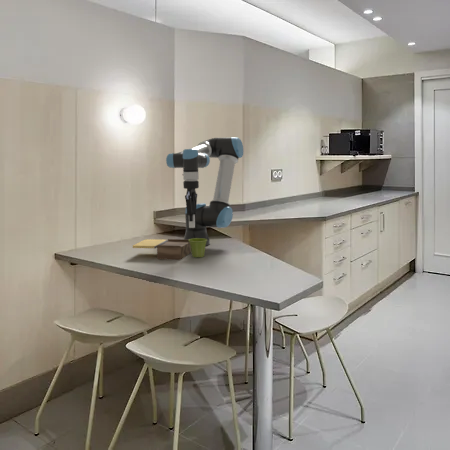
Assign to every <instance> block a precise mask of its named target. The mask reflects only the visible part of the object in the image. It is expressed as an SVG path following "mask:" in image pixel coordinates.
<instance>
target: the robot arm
mask: <svg viewBox="0 0 450 450" xmlns="http://www.w3.org/2000/svg"><path fill="white" fill-rule="evenodd" d="M243 156H244V145H243V142H242V140H241V138H240V137H237V136H236V137H234V136H232V137H231V136H230V137H214V138H212V137H211V138H210V139H207V140H204V141H201V142H199V143H198V144H197V145H195V146H193V147H190V148H184V149H183V151H180V152H177V153H176V152H172V153H168V154H167V156H166V158H165V162H166V166H167V167H169V168H172V169H177V168H178V169H181V168H182V176H183V182H182V183H183V189H185V190H186V195H184V199H185V205H186V206H185V213H184V215H185V234H184V237H183V239H194V238H203V239H207V241H206V245H205V247H207V246H209V245H210V243H211V241H210V238H209V234H208V232H207V228H218V229H221V228H222V229H223V228H228V227H229V226H230V224H231V222H232V220H233V215H234V214H233V213H234V211H233V208H232V206H231V204H230V203H229V199H230V194H231V189H232V182H233V176H234V171H235V166H236V164H238V163H239V159H240V158H242V157H243ZM211 158H213V159H218V161H219V167H218V171H217V176H216V183H215V187H214V193H213V199H212V200H211V201H209V205H207V203H205V202H204V203H197V202H198V193H197V192H196V191H197V189H199V186H200V185H199V184H200V183H199V175H200V174H199V169H204V168H207V167H208V166H209V165H210V162H211Z"/></svg>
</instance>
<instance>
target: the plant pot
mask: <svg viewBox="0 0 450 450" xmlns="http://www.w3.org/2000/svg"><path fill="white" fill-rule="evenodd" d="M206 241H207V239H203V238H194V239H189V242H190V246H191V257H192V258H203V257H205V252H206V246H207V245H206ZM205 245H206V246H205Z"/></svg>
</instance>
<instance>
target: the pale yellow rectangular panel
mask: <svg viewBox="0 0 450 450" xmlns="http://www.w3.org/2000/svg"><path fill="white" fill-rule="evenodd" d="M167 241H168V239H150V238H149V239H148V238H147V239H143V240H141V241H139V242H136V244H133V245H132V248H133V249H157V245H162V244H164V243H166V242H167Z"/></svg>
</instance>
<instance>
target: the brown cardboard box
mask: <svg viewBox="0 0 450 450" xmlns="http://www.w3.org/2000/svg"><path fill="white" fill-rule="evenodd" d="M167 240H168V241H167V242H166V243H164V244H162V245H157V248H156V252H157V253H156V254H157V260H174V261H175V260H176V261H181V260H183V259H184V258H186V256H188V255H190V254H192V252H191V246H190V242H189V239H184V238H183V239H181V238H168V239H167Z"/></svg>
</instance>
